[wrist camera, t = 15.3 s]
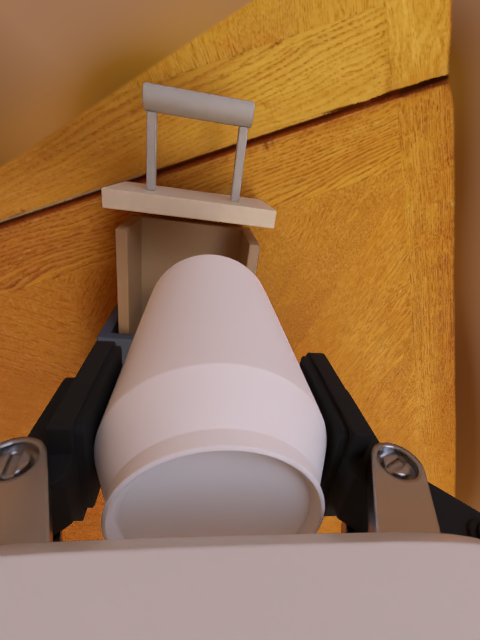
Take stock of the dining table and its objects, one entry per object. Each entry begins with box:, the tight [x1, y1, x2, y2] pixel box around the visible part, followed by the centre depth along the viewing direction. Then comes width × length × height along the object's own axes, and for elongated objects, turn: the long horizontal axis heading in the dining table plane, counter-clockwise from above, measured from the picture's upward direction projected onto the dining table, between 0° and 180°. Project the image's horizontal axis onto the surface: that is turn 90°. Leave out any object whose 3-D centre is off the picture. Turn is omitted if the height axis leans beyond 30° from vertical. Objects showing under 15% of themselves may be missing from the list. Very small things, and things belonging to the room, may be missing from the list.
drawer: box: [101, 82, 277, 335], centre depth 26 cm, size 20×11×7 cm, turn 172°
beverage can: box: [94, 255, 327, 540], centre depth 12 cm, size 6×6×12 cm
